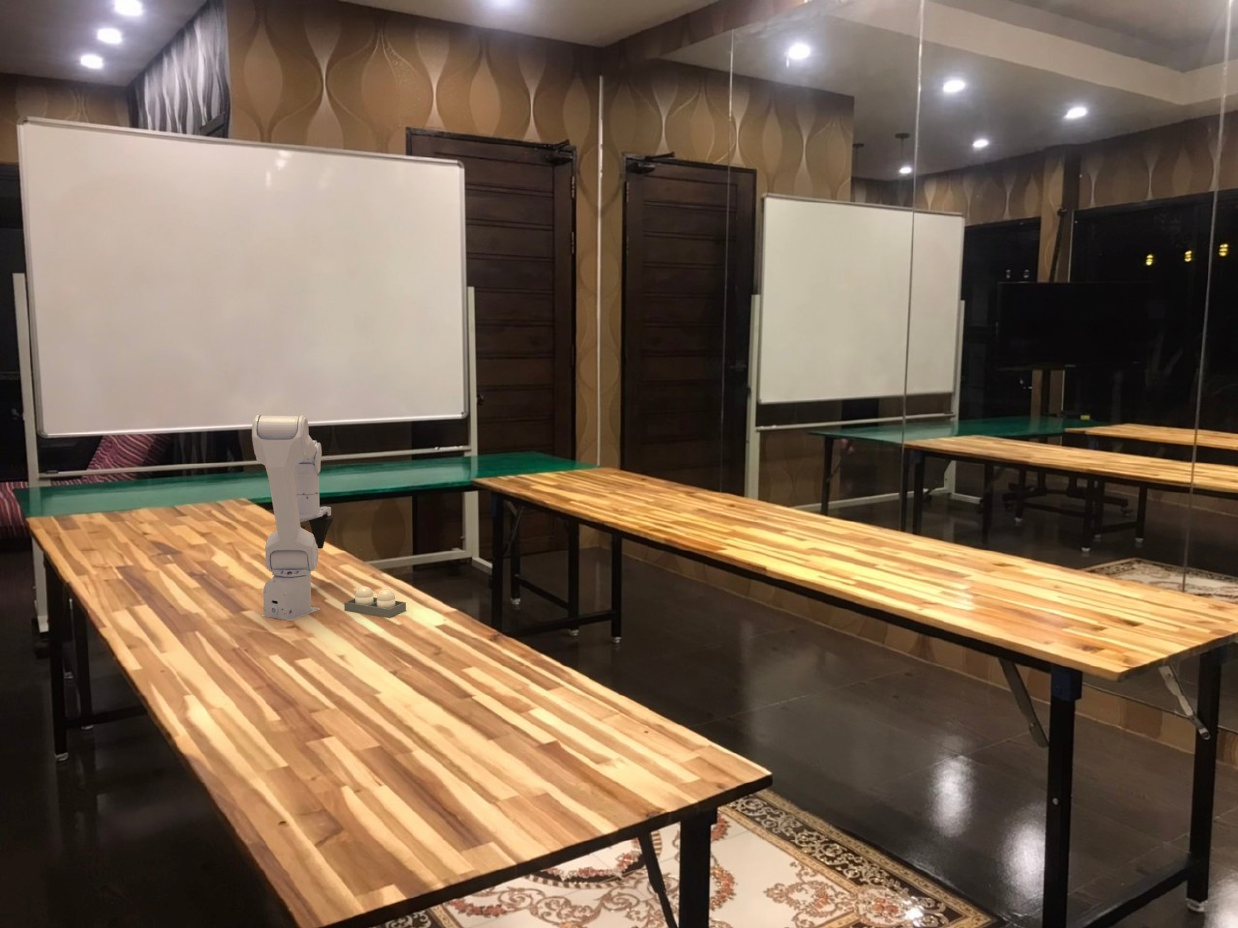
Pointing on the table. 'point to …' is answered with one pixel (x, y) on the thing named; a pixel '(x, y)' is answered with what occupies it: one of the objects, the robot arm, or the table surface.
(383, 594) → the cream rounded cylinder
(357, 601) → the carton egg
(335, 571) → the table surface
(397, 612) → the egg carton
